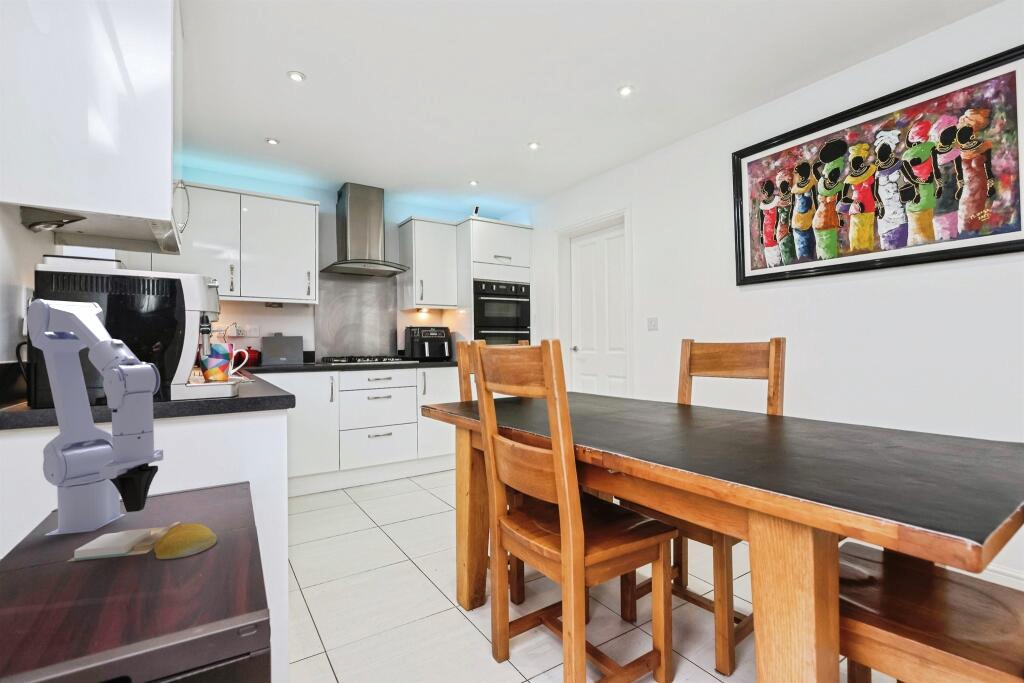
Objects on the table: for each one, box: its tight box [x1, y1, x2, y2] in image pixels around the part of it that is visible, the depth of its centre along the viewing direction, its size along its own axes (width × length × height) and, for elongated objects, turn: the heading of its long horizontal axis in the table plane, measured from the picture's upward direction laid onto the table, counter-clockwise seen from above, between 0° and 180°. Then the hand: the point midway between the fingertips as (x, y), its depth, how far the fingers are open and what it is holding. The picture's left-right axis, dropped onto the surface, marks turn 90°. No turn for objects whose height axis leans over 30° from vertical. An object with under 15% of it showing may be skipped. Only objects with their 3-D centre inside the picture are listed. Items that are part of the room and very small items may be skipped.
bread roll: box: [153, 523, 218, 560], centre depth 77 cm, size 8×9×4 cm
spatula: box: [134, 521, 182, 551], centre depth 82 cm, size 11×2×1 cm, turn 10°
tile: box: [73, 530, 151, 561], centre depth 78 cm, size 2×7×7 cm
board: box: [66, 526, 168, 562], centre depth 81 cm, size 13×11×1 cm
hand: (135, 510), depth 84 cm, fingers closed
